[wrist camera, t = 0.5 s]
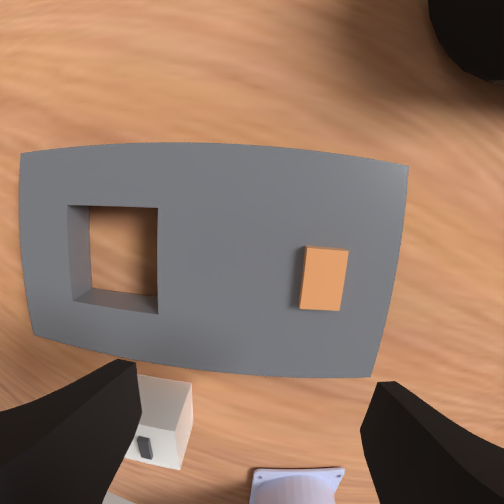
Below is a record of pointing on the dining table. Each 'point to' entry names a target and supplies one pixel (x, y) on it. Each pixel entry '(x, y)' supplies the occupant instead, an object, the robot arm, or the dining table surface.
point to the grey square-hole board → (220, 255)
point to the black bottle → (472, 35)
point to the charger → (162, 422)
